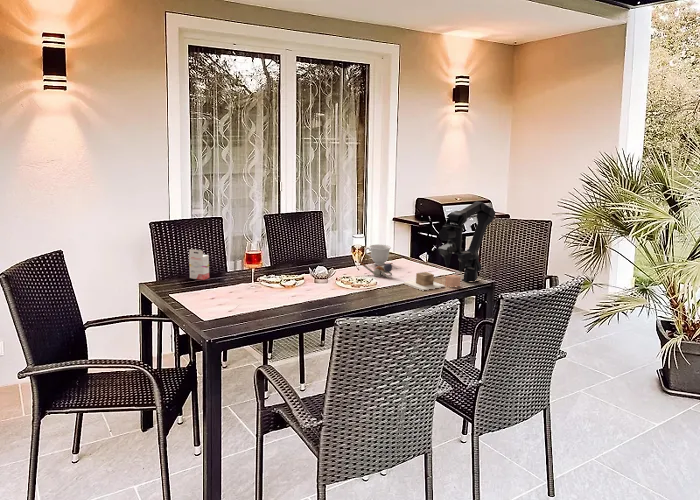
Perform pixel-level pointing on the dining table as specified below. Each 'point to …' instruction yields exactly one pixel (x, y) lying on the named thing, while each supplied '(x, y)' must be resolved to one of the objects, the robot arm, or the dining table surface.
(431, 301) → the dining table surface
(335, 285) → the dining table surface
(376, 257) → the teacup
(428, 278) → the walnut block
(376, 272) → the toy
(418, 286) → the pad
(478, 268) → the robot arm
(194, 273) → the ink cartridge box
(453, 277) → the clay block
